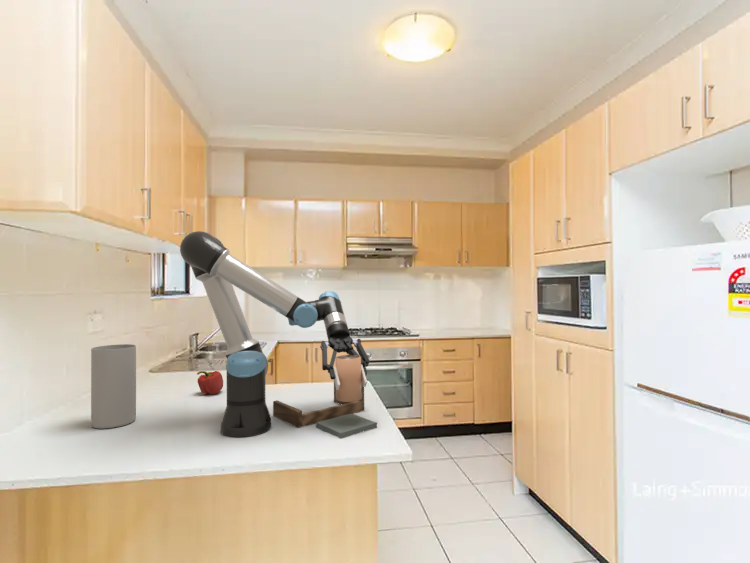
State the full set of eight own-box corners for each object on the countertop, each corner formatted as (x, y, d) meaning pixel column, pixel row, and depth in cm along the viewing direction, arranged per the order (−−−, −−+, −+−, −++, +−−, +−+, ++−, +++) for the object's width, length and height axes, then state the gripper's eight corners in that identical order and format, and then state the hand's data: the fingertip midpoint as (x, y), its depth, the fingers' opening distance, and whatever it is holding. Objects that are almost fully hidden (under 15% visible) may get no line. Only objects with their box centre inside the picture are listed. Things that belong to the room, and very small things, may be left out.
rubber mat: (340, 438, 121) (340, 433, 121) (316, 427, 131) (316, 422, 131) (376, 427, 130) (376, 422, 130) (351, 417, 140) (351, 413, 140)
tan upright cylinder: (340, 403, 126) (339, 359, 126) (333, 396, 133) (332, 355, 133) (365, 400, 129) (364, 357, 129) (356, 393, 136) (356, 354, 136)
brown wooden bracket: (297, 427, 131) (297, 389, 131) (273, 415, 143) (273, 380, 143) (364, 410, 148) (364, 376, 148) (337, 401, 161) (336, 370, 161)
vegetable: (201, 398, 166) (201, 373, 166) (191, 394, 174) (191, 370, 174) (227, 393, 174) (227, 369, 174) (217, 389, 181) (217, 366, 181)
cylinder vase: (90, 432, 128) (90, 350, 128) (92, 421, 139) (92, 346, 139) (136, 424, 135) (136, 347, 135) (135, 415, 145) (135, 343, 146)
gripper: (362, 334, 149) (380, 389, 134) (305, 337, 142) (316, 396, 126) (367, 320, 144) (386, 375, 129) (308, 323, 137) (320, 382, 122)
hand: (351, 385), depth 128 cm, fingers closed on tan upright cylinder, 8 cm apart
